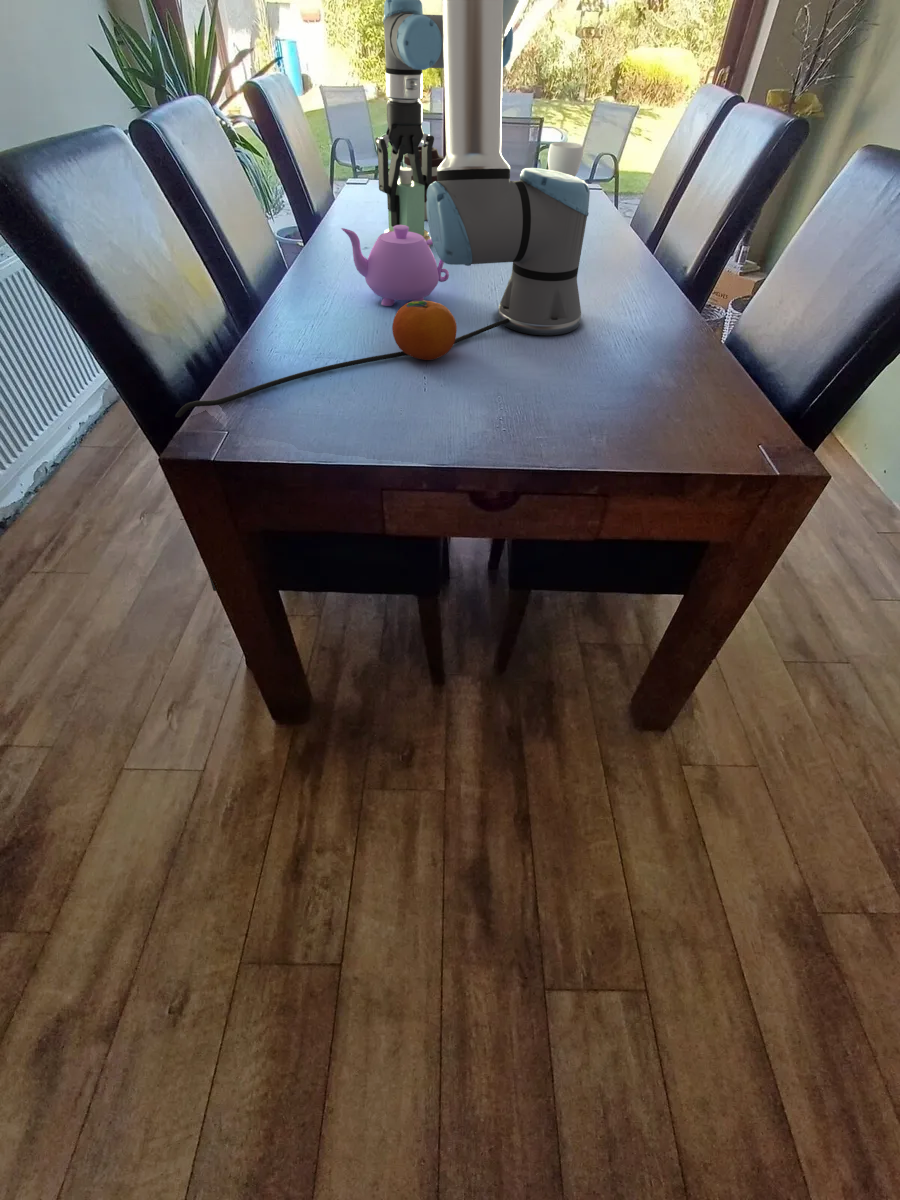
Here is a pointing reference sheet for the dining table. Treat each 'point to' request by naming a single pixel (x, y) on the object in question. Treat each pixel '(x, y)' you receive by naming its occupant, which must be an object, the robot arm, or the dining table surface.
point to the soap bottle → (410, 203)
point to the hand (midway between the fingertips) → (406, 225)
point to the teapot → (399, 265)
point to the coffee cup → (436, 162)
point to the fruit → (424, 329)
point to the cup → (565, 157)
